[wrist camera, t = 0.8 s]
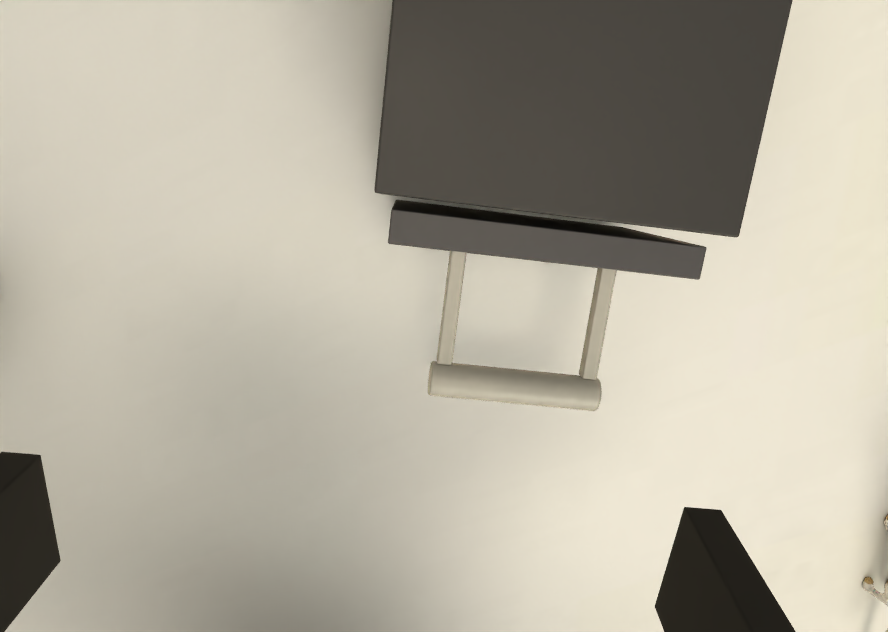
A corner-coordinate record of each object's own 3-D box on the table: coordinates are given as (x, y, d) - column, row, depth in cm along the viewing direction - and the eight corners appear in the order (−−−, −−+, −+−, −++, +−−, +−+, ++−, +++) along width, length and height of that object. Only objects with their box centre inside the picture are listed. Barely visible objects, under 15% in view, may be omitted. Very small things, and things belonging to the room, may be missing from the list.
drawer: (596, 367, 32) (666, 437, 23) (380, 345, 31) (370, 409, 22) (676, -66, 28) (798, -175, 19) (427, -107, 27) (437, -242, 18)
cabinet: (629, 217, 31) (739, 237, 21) (385, 187, 30) (374, 192, 20) (693, -124, 28) (861, -299, 18) (420, -171, 27) (429, -388, 17)
